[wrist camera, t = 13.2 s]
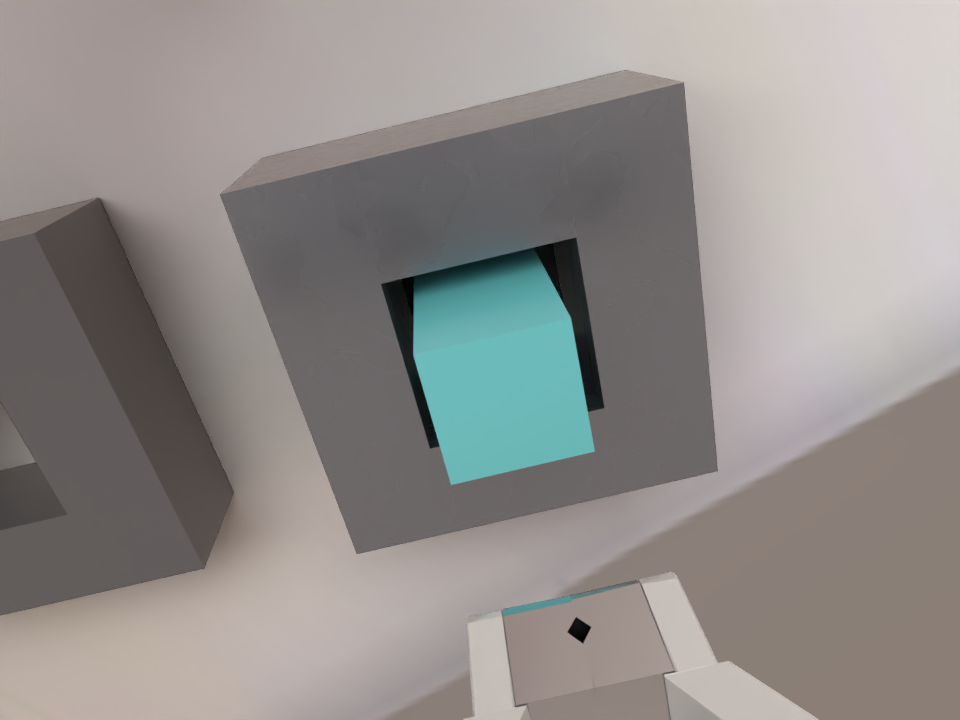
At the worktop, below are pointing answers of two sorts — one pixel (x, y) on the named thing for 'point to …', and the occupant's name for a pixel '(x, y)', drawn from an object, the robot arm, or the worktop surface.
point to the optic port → (472, 237)
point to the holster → (94, 421)
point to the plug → (499, 366)
